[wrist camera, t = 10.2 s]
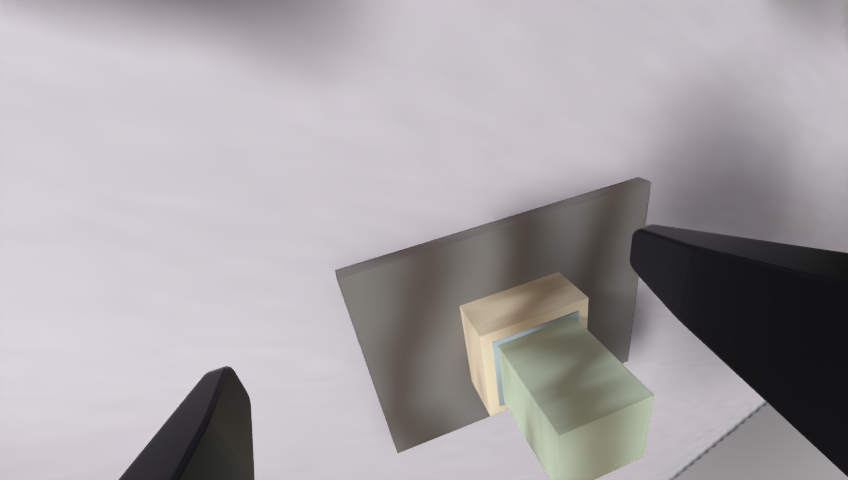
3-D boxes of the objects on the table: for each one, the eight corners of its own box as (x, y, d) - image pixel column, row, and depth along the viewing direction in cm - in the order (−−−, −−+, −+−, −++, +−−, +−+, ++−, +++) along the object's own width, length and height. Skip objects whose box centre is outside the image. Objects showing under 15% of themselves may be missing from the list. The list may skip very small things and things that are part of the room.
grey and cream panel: (638, 177, 25) (694, 199, 22) (619, 352, 33) (657, 389, 30) (335, 270, 22) (343, 314, 18) (394, 441, 30) (408, 494, 26)
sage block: (574, 316, 23) (654, 395, 18) (572, 374, 26) (643, 457, 21) (497, 345, 22) (559, 436, 17) (504, 401, 25) (559, 495, 20)
